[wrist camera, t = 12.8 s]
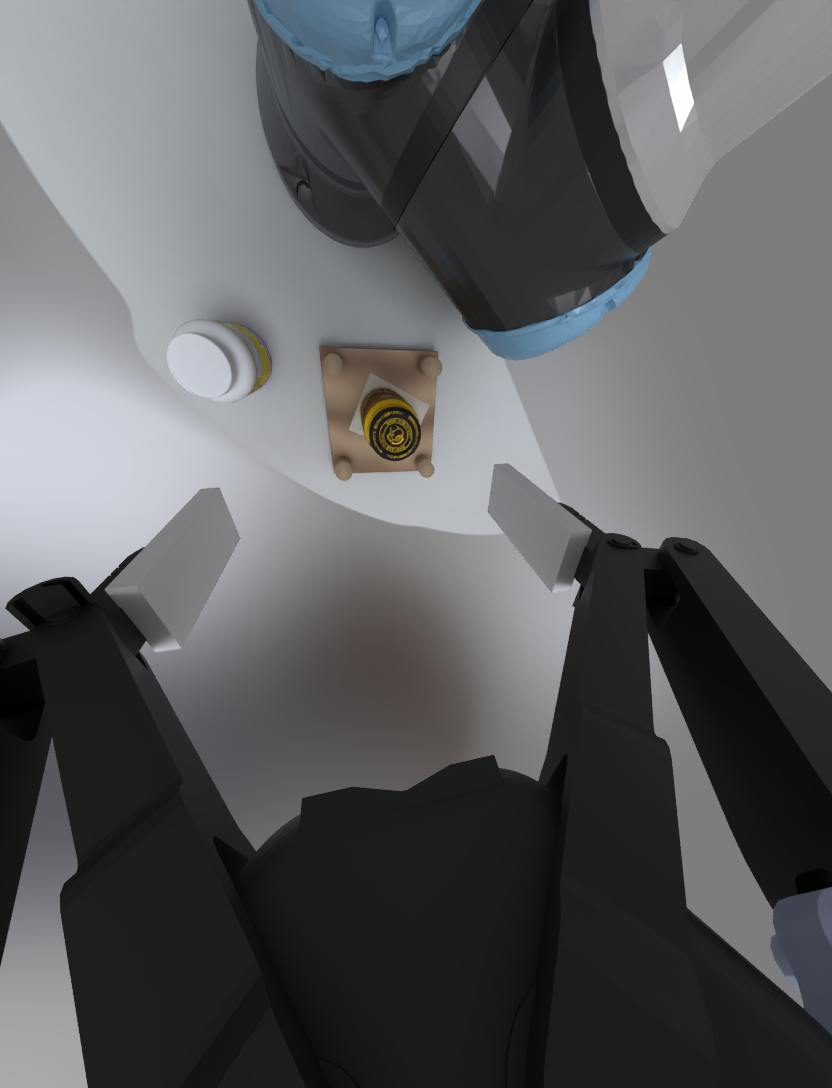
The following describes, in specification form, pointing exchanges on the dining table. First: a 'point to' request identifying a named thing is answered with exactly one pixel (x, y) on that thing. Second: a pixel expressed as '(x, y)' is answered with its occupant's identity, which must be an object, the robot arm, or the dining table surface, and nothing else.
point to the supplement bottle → (218, 360)
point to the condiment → (389, 419)
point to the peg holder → (344, 390)
